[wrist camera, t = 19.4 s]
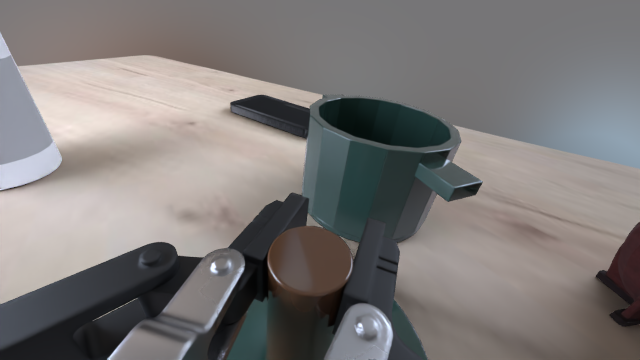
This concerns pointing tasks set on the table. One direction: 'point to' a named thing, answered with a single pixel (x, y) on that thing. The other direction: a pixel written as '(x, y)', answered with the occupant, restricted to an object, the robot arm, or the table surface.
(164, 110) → the table surface
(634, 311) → the mate gourd
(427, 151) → the pot
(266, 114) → the phone
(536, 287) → the table surface
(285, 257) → the lid
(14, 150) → the white bottle
